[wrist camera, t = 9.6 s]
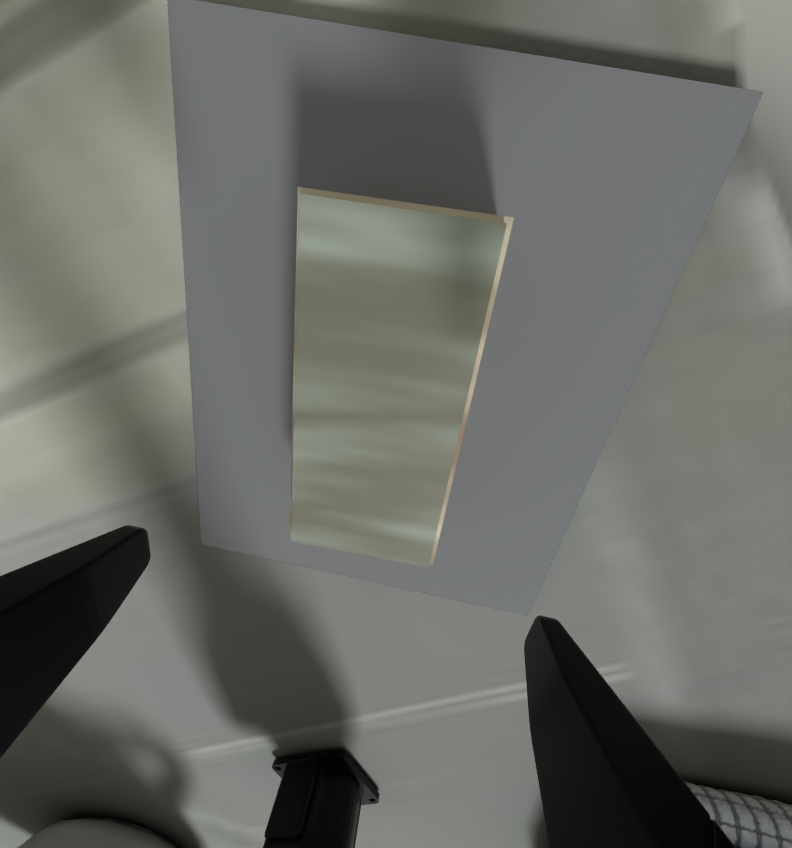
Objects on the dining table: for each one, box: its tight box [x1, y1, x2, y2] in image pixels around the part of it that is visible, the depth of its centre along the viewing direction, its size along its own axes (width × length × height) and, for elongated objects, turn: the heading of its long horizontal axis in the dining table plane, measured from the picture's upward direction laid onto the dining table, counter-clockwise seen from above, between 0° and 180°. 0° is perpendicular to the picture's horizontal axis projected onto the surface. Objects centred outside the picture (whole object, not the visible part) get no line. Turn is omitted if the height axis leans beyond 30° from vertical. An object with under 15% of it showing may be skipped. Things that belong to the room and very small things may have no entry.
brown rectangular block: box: [290, 187, 514, 568], centre depth 14 cm, size 4×6×12 cm
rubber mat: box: [167, 0, 763, 616], centre depth 16 cm, size 22×18×1 cm
